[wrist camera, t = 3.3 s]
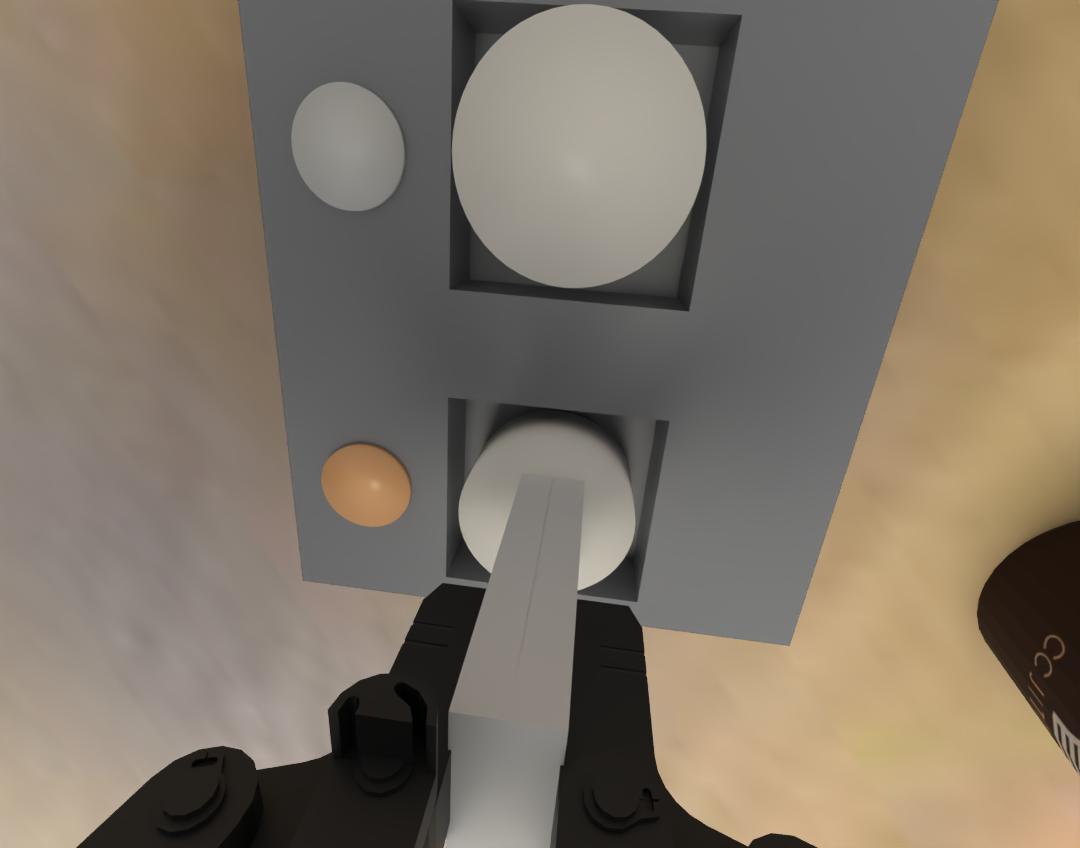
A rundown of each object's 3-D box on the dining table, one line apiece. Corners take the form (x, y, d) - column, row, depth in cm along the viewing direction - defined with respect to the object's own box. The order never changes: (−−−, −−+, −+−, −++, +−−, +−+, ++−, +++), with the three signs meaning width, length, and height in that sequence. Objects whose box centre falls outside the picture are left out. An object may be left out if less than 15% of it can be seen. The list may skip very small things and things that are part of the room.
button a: (473, 539, 16) (456, 582, 14) (478, 402, 14) (460, 429, 12) (620, 558, 16) (622, 604, 14) (641, 419, 14) (647, 450, 12)
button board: (359, 510, 19) (299, 585, 15) (301, -468, 11) (133, -850, 7) (751, 559, 18) (791, 651, 14) (1028, -474, 10) (1308, -924, 6)
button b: (473, 267, 12) (450, 277, 10) (479, 35, 10) (453, -3, 9) (668, 285, 12) (681, 298, 10) (707, 48, 10) (731, 11, 8)
